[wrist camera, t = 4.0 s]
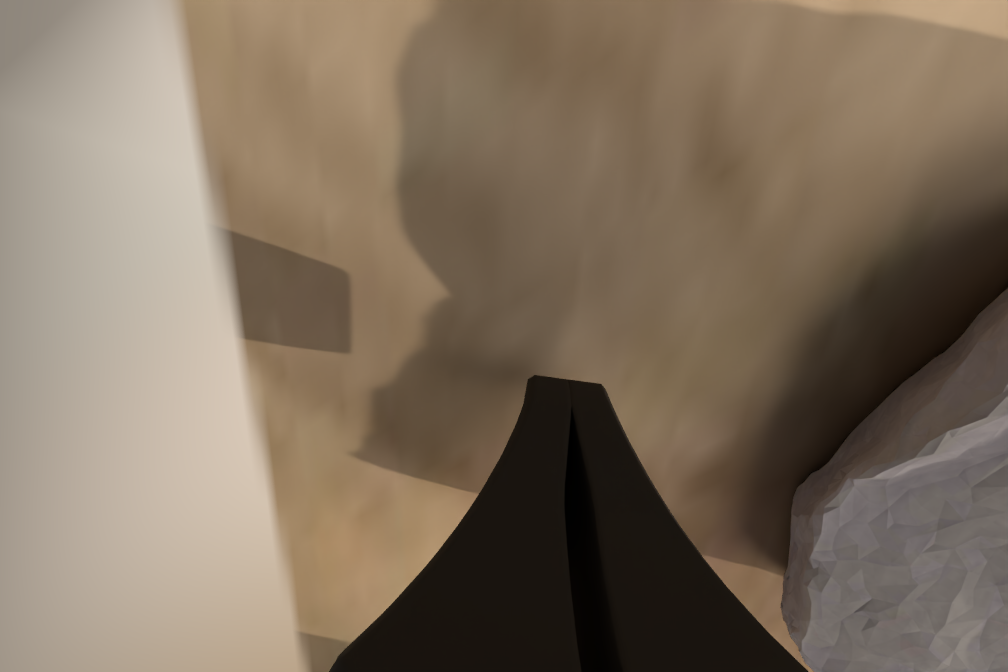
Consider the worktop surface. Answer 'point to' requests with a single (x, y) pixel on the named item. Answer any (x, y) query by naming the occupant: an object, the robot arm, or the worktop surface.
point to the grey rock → (912, 524)
